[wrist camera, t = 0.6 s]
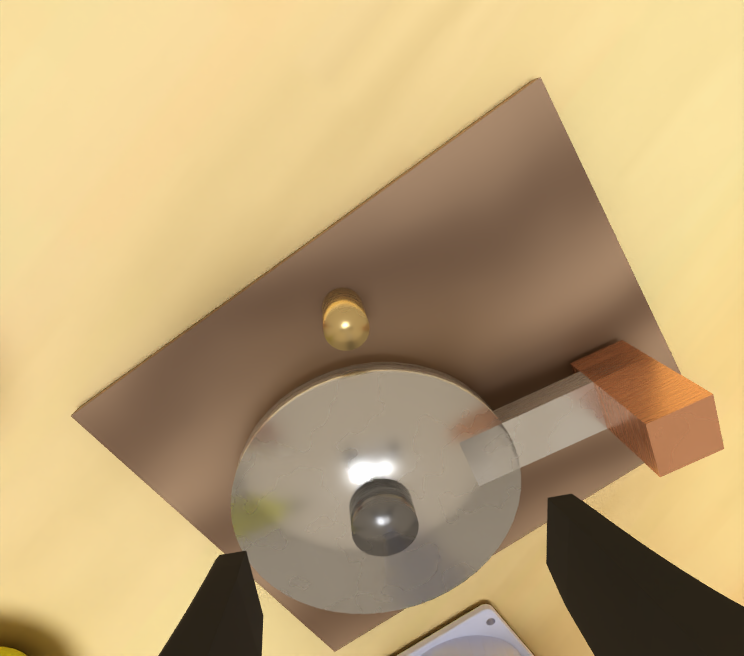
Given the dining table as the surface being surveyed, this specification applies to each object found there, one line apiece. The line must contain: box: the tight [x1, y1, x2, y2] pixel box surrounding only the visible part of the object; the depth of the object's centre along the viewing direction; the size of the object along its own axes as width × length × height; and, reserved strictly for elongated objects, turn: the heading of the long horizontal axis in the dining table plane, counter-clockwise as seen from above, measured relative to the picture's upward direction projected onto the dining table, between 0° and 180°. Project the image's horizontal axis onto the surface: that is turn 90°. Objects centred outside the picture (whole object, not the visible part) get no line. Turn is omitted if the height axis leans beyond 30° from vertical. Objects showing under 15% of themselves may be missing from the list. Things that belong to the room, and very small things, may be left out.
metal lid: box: [231, 340, 724, 614], centre depth 19 cm, size 18×12×5 cm, turn 114°
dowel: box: [322, 288, 370, 351], centre depth 18 cm, size 2×2×3 cm
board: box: [71, 77, 681, 652], centre depth 21 cm, size 18×22×2 cm
